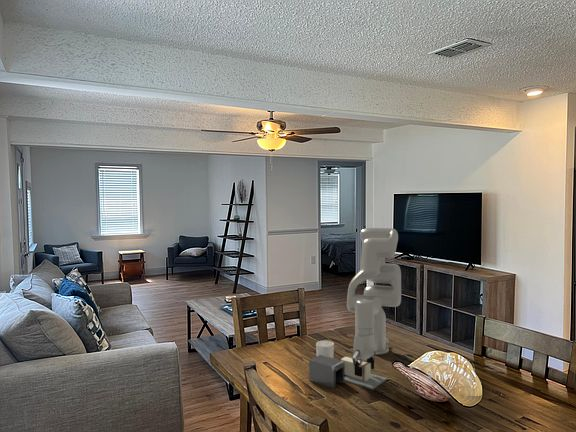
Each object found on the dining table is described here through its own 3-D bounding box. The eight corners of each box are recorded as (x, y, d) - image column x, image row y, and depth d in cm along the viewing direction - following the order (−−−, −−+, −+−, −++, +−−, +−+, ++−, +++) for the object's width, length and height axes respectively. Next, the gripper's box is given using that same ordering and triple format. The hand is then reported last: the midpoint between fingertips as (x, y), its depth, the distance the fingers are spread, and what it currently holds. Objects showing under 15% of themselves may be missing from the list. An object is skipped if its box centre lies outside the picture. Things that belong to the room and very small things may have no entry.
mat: (357, 370, 187) (357, 369, 187) (387, 379, 178) (387, 378, 178) (341, 380, 178) (341, 378, 178) (372, 389, 169) (372, 388, 169)
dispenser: (320, 374, 183) (320, 354, 183) (344, 382, 175) (344, 361, 175) (309, 380, 177) (309, 359, 177) (333, 388, 170) (333, 367, 169)
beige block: (345, 370, 186) (345, 356, 186) (370, 377, 178) (370, 363, 178) (340, 373, 183) (340, 359, 183) (365, 381, 175) (365, 366, 175)
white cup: (333, 369, 188) (333, 347, 188) (314, 368, 190) (314, 345, 189) (334, 363, 196) (334, 341, 195) (317, 361, 197) (317, 340, 197)
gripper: (367, 323, 186) (367, 363, 187) (345, 333, 173) (345, 376, 173) (383, 327, 181) (383, 367, 182) (361, 337, 168) (361, 381, 169)
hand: (364, 371), depth 178 cm, fingers open, 9 cm apart
